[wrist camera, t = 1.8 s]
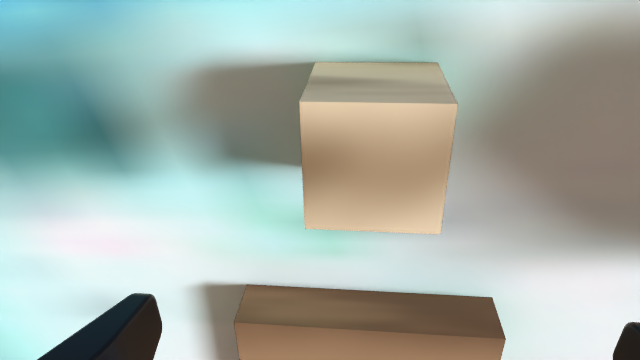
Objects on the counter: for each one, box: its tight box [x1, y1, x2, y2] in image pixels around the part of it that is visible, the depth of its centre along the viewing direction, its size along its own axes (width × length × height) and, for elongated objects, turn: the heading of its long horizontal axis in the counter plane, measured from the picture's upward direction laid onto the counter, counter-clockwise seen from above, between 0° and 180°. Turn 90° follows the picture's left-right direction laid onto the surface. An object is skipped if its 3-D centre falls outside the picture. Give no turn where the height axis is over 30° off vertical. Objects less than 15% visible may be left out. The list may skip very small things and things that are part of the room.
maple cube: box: [299, 62, 458, 234], centre depth 16 cm, size 4×4×4 cm
